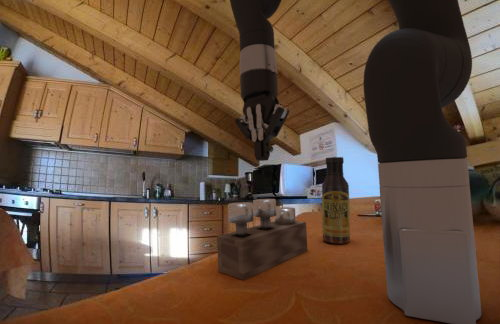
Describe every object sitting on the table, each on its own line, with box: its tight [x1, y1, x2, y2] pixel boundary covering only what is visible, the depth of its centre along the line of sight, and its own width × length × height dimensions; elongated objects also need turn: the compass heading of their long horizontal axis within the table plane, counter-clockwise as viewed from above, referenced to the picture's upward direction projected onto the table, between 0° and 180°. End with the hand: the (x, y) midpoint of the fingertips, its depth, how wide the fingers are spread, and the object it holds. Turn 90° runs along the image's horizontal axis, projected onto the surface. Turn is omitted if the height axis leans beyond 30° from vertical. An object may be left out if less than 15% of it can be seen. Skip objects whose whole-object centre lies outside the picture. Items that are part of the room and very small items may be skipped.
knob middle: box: [252, 198, 277, 231], centre depth 49 cm, size 4×4×7 cm
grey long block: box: [216, 220, 308, 281], centre depth 49 cm, size 19×6×6 cm, turn 136°
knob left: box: [227, 201, 254, 238], centre depth 44 cm, size 4×4×7 cm
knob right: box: [274, 206, 297, 225], centre depth 54 cm, size 4×4×7 cm
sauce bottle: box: [321, 156, 351, 245], centre depth 59 cm, size 6×6×20 cm
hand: (262, 160), depth 50 cm, fingers closed
